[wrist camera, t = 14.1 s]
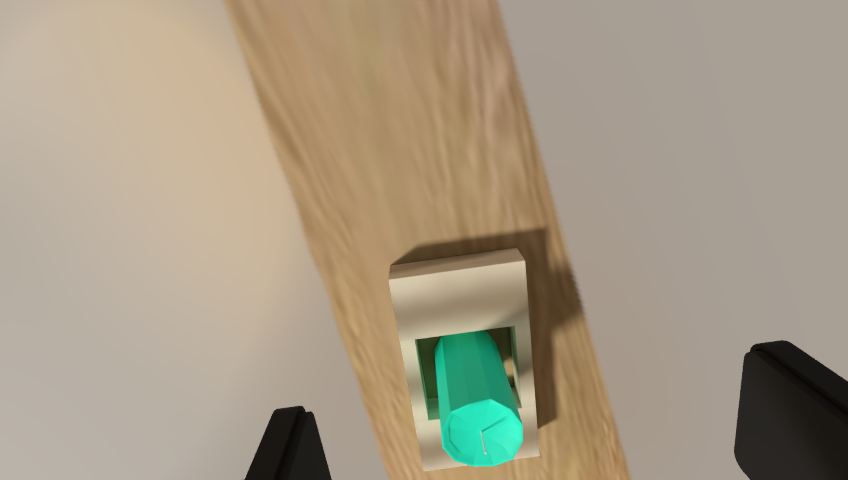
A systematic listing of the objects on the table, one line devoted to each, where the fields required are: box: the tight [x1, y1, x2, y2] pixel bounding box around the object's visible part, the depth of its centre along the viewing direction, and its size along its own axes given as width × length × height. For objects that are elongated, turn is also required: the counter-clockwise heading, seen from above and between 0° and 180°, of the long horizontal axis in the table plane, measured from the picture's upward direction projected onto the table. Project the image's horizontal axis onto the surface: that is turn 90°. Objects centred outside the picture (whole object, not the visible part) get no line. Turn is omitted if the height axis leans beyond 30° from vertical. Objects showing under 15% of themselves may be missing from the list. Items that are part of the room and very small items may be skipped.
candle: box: [434, 330, 523, 466], centre depth 36 cm, size 6×6×12 cm
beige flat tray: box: [389, 248, 539, 471], centre depth 41 cm, size 20×11×3 cm, turn 8°
